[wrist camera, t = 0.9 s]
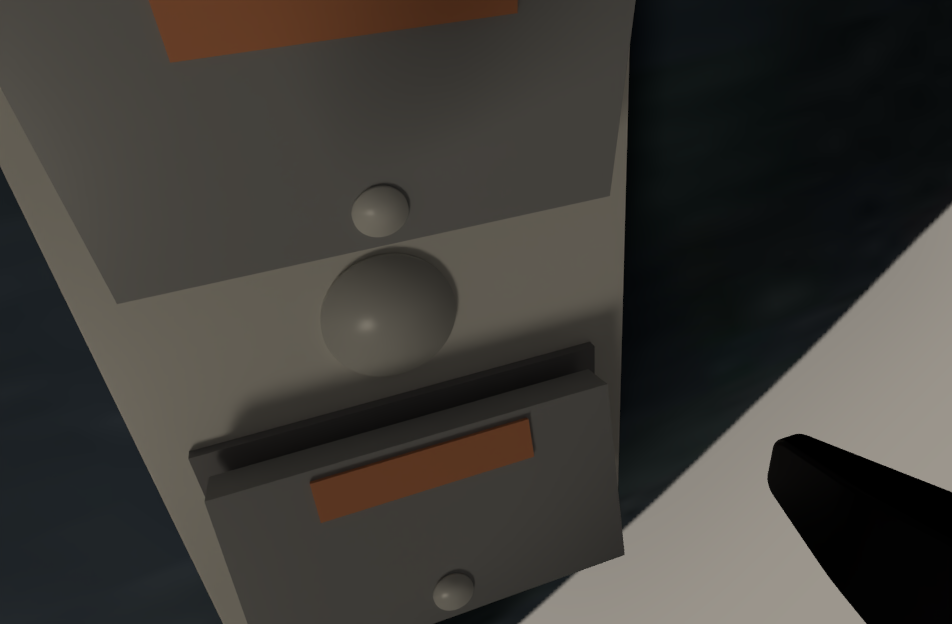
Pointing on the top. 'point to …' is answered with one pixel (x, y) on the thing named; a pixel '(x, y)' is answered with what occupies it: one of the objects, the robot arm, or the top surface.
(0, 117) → the double rocker switch panel
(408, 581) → the dark grey rectangular block
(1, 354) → the top surface
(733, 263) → the top surface
